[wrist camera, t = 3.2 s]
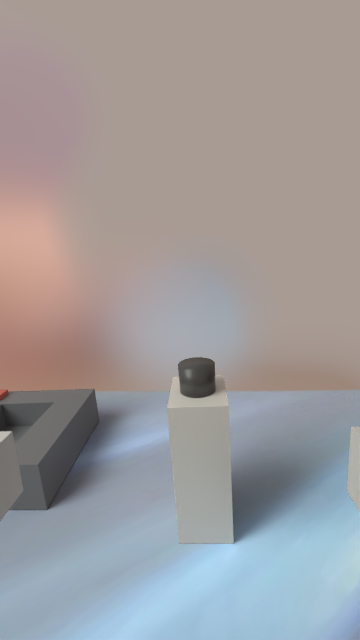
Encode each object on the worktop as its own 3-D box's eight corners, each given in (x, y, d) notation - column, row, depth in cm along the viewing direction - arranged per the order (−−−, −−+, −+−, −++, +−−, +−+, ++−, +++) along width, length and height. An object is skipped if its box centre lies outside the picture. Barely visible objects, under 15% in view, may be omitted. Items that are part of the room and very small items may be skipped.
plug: (227, 490, 27) (221, 351, 24) (233, 543, 22) (227, 377, 19) (182, 490, 27) (171, 353, 24) (178, 543, 22) (164, 379, 20)
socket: (98, 420, 40) (93, 384, 39) (47, 509, 26) (36, 458, 25) (-3, 423, 41) (-11, 388, 40) (-104, 510, 27) (-120, 461, 26)
